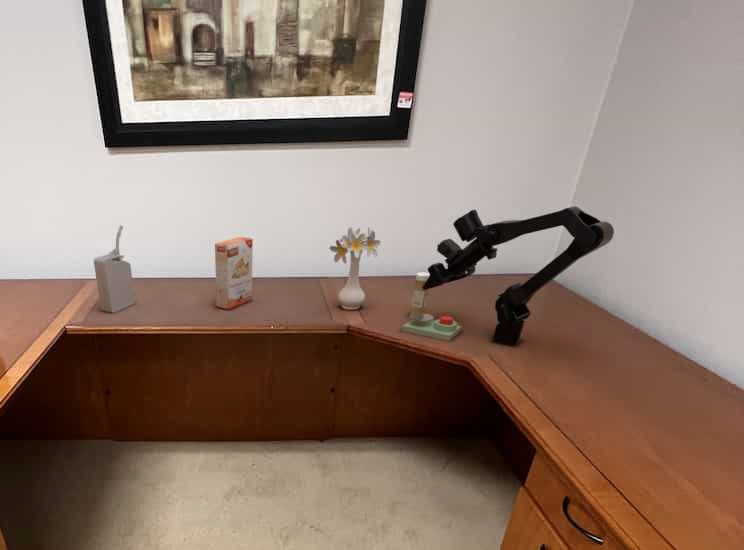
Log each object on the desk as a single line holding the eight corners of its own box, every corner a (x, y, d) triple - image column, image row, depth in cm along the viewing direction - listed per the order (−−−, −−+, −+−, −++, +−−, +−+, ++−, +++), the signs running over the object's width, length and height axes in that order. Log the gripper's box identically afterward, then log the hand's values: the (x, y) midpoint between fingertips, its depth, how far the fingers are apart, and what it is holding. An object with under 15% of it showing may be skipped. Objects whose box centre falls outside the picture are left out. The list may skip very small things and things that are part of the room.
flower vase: (320, 311, 190) (326, 231, 175) (346, 298, 201) (354, 222, 187) (354, 318, 183) (363, 236, 168) (379, 304, 195) (389, 226, 180)
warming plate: (437, 316, 173) (437, 315, 173) (428, 323, 169) (428, 322, 168) (415, 312, 177) (415, 311, 177) (405, 318, 172) (406, 317, 172)
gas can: (129, 299, 204) (119, 224, 189) (139, 301, 202) (130, 225, 187) (101, 311, 193) (88, 232, 178) (112, 313, 191) (100, 234, 176)
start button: (453, 323, 169) (454, 317, 168) (449, 326, 167) (450, 320, 166) (442, 321, 171) (443, 315, 170) (437, 324, 169) (438, 318, 168)
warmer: (460, 331, 172) (463, 320, 170) (449, 341, 166) (451, 329, 164) (414, 322, 180) (416, 311, 178) (401, 331, 173) (403, 319, 171)
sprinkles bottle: (426, 316, 184) (434, 274, 176) (417, 319, 182) (424, 276, 174) (416, 312, 187) (423, 271, 179) (406, 315, 185) (413, 273, 177)
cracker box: (229, 310, 192) (227, 245, 179) (215, 307, 195) (213, 243, 182) (253, 300, 201) (253, 237, 188) (240, 297, 204) (239, 235, 191)
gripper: (475, 226, 168) (436, 258, 182) (439, 235, 159) (401, 268, 172) (492, 259, 168) (452, 288, 181) (458, 269, 158) (418, 300, 172)
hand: (431, 285), depth 177 cm, fingers open, 9 cm apart
